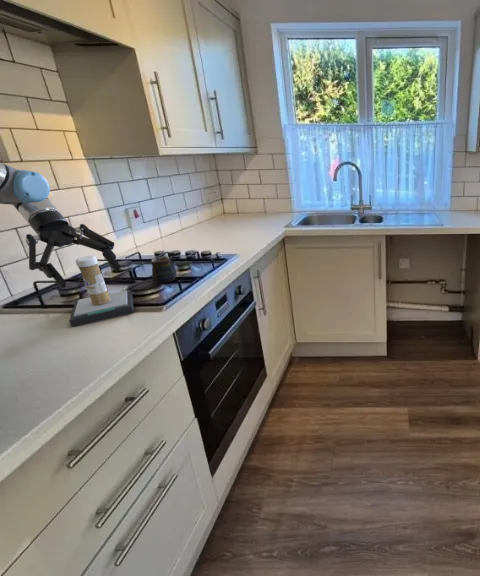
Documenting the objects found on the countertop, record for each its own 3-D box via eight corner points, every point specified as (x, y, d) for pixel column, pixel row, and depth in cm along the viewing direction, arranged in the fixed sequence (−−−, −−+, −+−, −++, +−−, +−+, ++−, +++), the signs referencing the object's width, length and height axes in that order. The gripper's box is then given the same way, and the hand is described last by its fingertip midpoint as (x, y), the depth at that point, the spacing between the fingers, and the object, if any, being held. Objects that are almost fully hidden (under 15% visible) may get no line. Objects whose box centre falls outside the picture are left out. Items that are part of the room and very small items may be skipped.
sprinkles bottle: (88, 305, 102) (70, 260, 97) (101, 298, 106) (84, 255, 101) (103, 305, 102) (86, 260, 96) (115, 298, 106) (99, 255, 101)
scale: (71, 327, 96) (68, 318, 95) (77, 307, 107) (74, 299, 106) (133, 312, 103) (130, 304, 102) (133, 296, 114) (130, 288, 113)
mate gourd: (177, 275, 130) (169, 248, 126) (179, 281, 124) (172, 254, 120) (154, 280, 126) (145, 252, 122) (155, 286, 120) (147, 258, 116)
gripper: (92, 217, 113) (135, 269, 113) (-15, 237, 93) (36, 300, 93) (96, 201, 109) (140, 255, 108) (-16, 219, 89) (38, 285, 88)
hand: (92, 276), depth 101 cm, fingers open, 13 cm apart
